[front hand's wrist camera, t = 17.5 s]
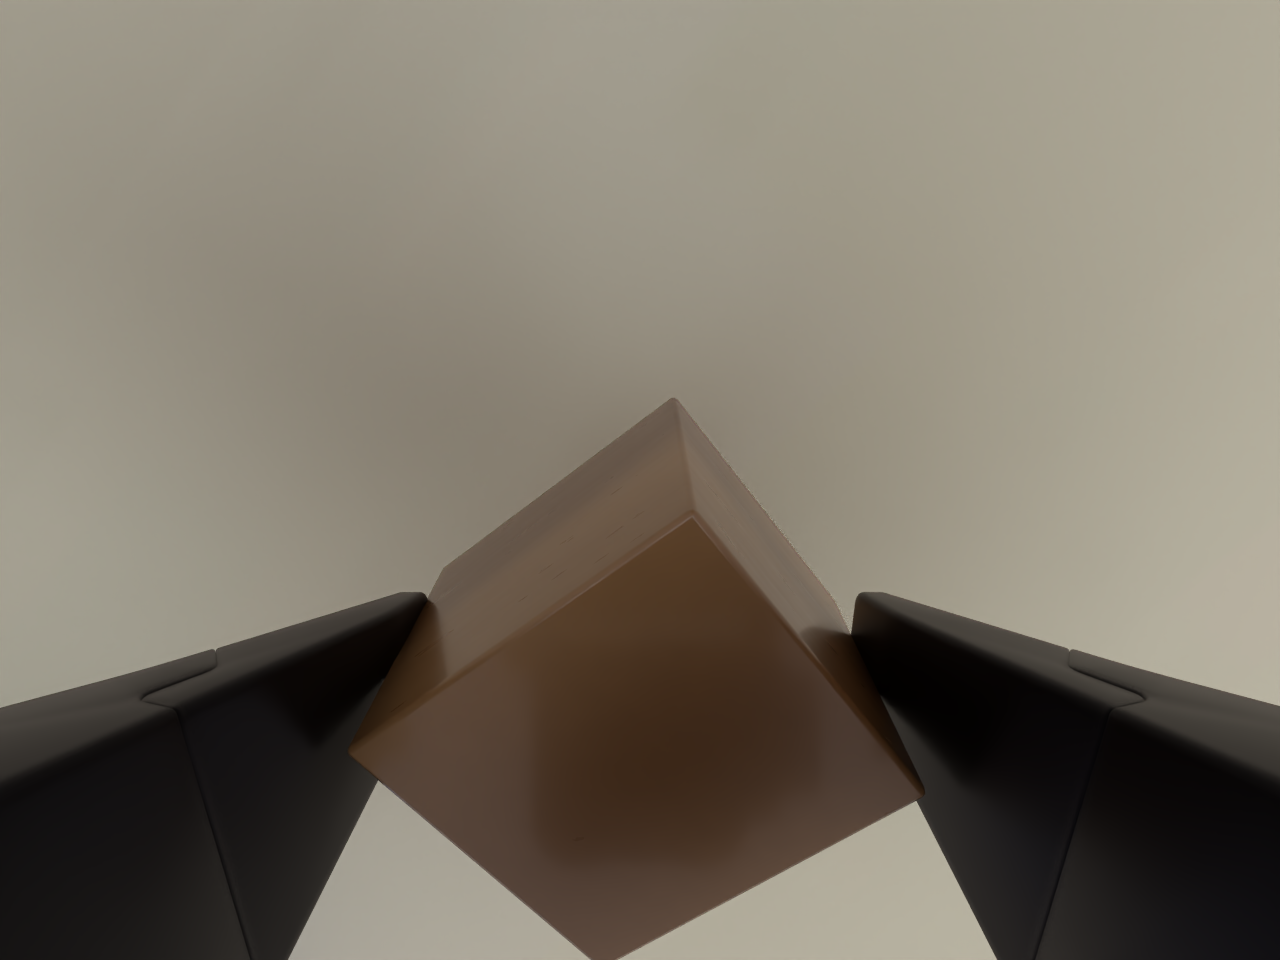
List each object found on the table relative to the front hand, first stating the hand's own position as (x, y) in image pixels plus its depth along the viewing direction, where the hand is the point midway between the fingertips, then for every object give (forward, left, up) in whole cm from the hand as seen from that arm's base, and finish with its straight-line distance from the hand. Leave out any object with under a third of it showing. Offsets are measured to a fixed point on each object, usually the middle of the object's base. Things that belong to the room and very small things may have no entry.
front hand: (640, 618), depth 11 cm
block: (0, 0, -1) cm, 1 cm away
